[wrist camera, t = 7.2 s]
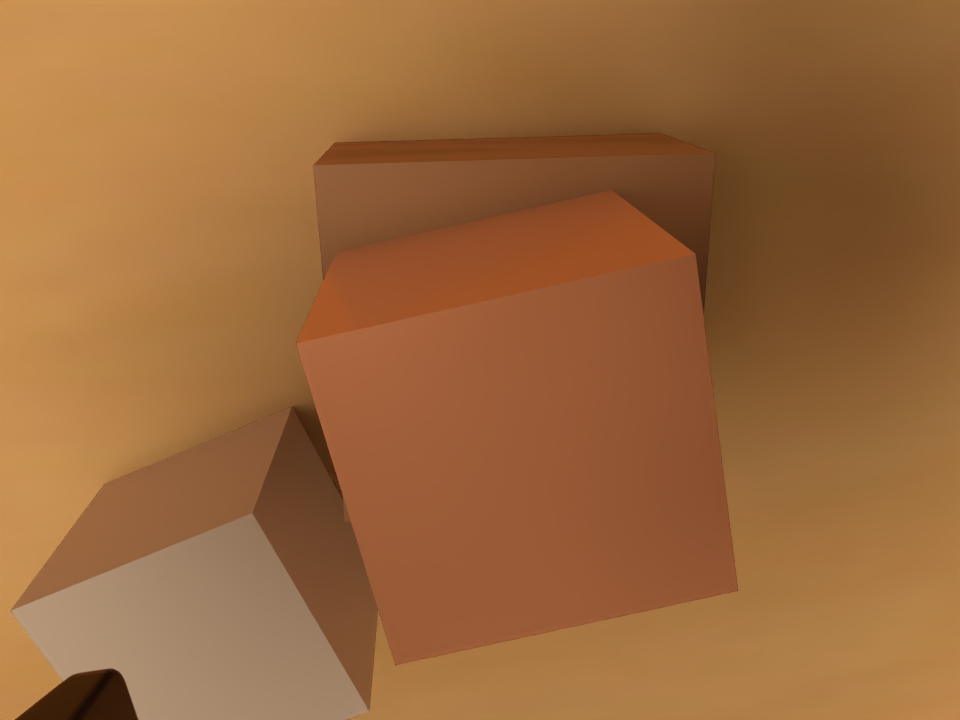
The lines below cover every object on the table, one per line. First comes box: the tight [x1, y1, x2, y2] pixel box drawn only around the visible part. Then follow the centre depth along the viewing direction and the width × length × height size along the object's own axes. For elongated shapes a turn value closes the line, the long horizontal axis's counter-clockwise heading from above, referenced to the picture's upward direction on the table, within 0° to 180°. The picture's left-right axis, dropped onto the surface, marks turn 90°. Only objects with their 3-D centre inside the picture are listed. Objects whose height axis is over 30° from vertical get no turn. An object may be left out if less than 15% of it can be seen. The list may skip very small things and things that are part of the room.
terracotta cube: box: [296, 190, 738, 665], centre depth 14 cm, size 5×5×5 cm
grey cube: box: [11, 407, 378, 720], centre depth 19 cm, size 5×5×5 cm
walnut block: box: [313, 133, 715, 522], centre depth 18 cm, size 7×7×4 cm
